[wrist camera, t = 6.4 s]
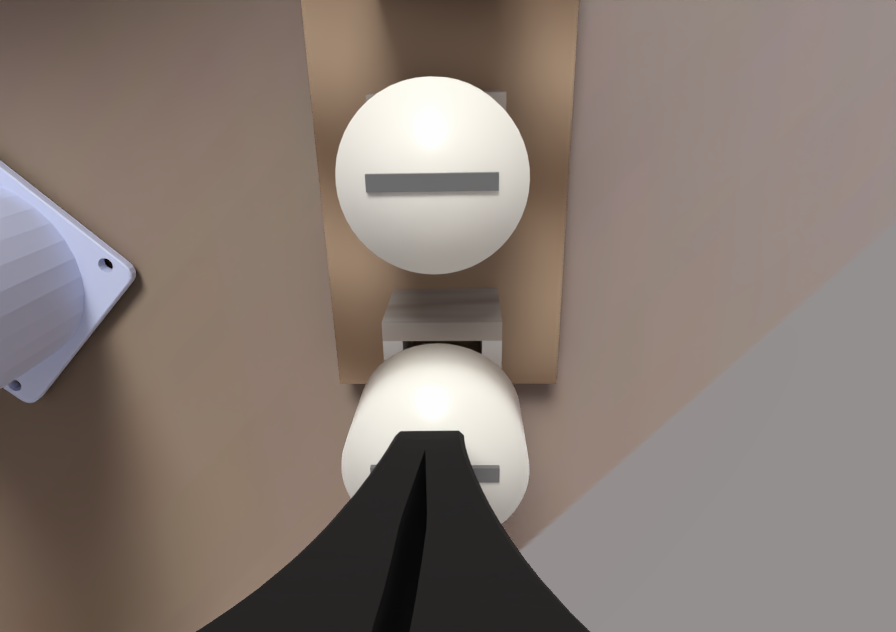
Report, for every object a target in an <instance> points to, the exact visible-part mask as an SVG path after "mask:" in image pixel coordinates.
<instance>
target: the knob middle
mask: <svg viewBox="0 0 896 632" xmlns="http://www.w3.org/2000/svg"><path fill="white" fill-rule="evenodd" d="M335 180H336V189H337V195H338V199H339V202H340V206H341V209H342V211H343V214H344V216H345V218H346V220H347V222H348V224H349V225H350V227H351V229H352V231H353V232H354V233H355V234H356V236H357V237H358V238H359V240H360V241H361V242H362V243H363V244H364V245H365V246H366V247H367V248H368V249H369V250H370V251H372V252H373V253H374V254H375V255H377V256H378V257H380V258H381V259H383V260H384V261H386V262H388V263H390V264H392V265H394V266H396V267H398V268H401V269H404V270H407V271H411V272H416V273H421V274H447V273H452V272H457V271H461V270H464V269H467V268H470V267H472V266H474V265H476V264H478V263H480V262H482V261H483V260H485V259H486V258H488V257H490V256H491V255H492V254H493V253H495V252H496V251H497V250H498V249H499V248H500V247H501V246H502V245H503V244H504V243H505V242H506V241H507V240H508V239H509V237H510V236H511V234H512V233H513V232H514V230H515V229H516V227H517V225H518V223H519V221H520V219H521V217H522V215H523V212H524V209H525V206H526V203H527V198H528V194H529V185H530V167H529V161H528V155H527V151H526V148H525V144H524V141H523V139H522V137H521V135H520V132H519V130H518V128H517V127H516V125H515V123H514V122H513V120H512V119H511V117H510V116H509V115H508V114H507V112H506V111H505V110H504V109H503V108H502V107H501V106H500V105H499V104H498V103H497V102H496V101H495V100H494V99H493V98H492V97H490V96H489V95H488V94H486V93H485V92H484V91H482V90H481V89H479V88H477V87H475V86H474V85H472V84H470V83H467V82H464V81H461V80H458V79H454V78H448V77H433V76H428V77H417V78H412V79H408V80H404V81H401V82H398V83H396V84H393V85H390V86H389V87H387V88H385V89H383V90H382V91H380V92H378V93H377V94H375V95H374V96H373V97H372V98H370V99H369V100H368V101H367V102H366V103H365V104H364V105H363V106H362V107H361V108H360V109H359V110H358V111H357V113H356V114H355V115H354V117H353V118H352V119H351V121H350V123H349V124H348V126H347V128H346V130H345V132H344V134H343V137H342V139H341V142H340V145H339V149H338V153H337V158H336V168H335Z"/></svg>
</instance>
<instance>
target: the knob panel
mask: <svg viewBox="0 0 896 632" xmlns="http://www.w3.org/2000/svg"><path fill="white" fill-rule="evenodd" d="M301 7H302V17H303V26H304V36H305V46H306V56H307V65H308V75H309V85H310V95H311V104H312V114H313V124H314V134H315V143H316V153H317V163H318V173H319V182H320V192H321V202H322V212H323V221H324V231H325V241H326V251H327V260H328V270H329V280H330V290H331V299H332V309H333V319H334V329H335V338H336V348H337V358H338V368H339V377H340V384H366V383H367V381H368V379H369V378H370V376H371V375H372V373H373V372H374V371H375V370H376V369H377V368H378V367H379V365H381V364H382V363H383V362H384V361H385V360H387V359H388V358H390V357H391V356H393V355H395V354H396V353H398V352H401V351H403V350H405V349H408V348H411V347H414V346H418V345H424V344H435V343H448V344H452V345H458V346H462V347H465V348H468V349H471V350H474V351H476V352H478V353H480V354H482V355H484V356H485V357H487V358H489V359H490V360H491V361H493V362H494V363H495V364H496V365H498V366H499V367H500V368H501V369H502V370H503V371H504V372H505V374H506V375H507V376H508V378H509V379H510V380H511V382H512V384H556V379H557V362H558V345H559V328H560V311H561V294H562V277H563V261H564V244H565V227H566V210H567V193H568V176H569V159H570V142H571V125H572V109H573V92H574V75H575V58H576V41H577V24H578V7H579V0H301ZM428 76H433V77H448V78H454V79H458V80H461V81H464V82H467V83H470V84H472V85H474V86H475V87H477V88H479V89H481V90H482V91H484V92H485V93H486V94H488V95H489V96H490V97H492V98H493V99H494V100H495V101H496V102H497V103H498V104H499V105H500V106H501V107H502V108H503V109H504V110H505V111H506V112H507V114H508V115H509V116H510V117H511V119H512V120H513V122H514V123H515V125H516V127H517V128H518V130H519V132H520V135H521V137H522V139H523V141H524V144H525V148H526V151H527V155H528V161H529V167H530V185H529V194H528V198H527V203H526V206H525V209H524V212H523V215H522V217H521V219H520V221H519V223H518V225H517V227H516V229H515V230H514V232H513V233H512V234H511V236H510V237H509V239H508V240H507V241H506V242H505V243H504V244H503V245H502V246H501V247H500V248H499V249H498V250H497V251H496V252H495V253H493V254H492V255H491V256H490V257H488V258H486V259H485V260H483V261H482V262H480V263H478V264H476V265H474V266H472V267H470V268H467V269H464V270H461V271H457V272H452V273H447V274H421V273H416V272H411V271H407V270H404V269H401V268H398V267H396V266H394V265H392V264H390V263H388V262H386V261H384V260H383V259H381V258H380V257H378V256H377V255H375V254H374V253H373V252H372V251H370V250H369V249H368V248H367V247H366V246H365V245H364V244H363V243H362V242H361V241H360V240H359V238H358V237H357V236H356V234H355V233H354V232H353V231H352V229H351V227H350V225H349V224H348V222H347V220H346V218H345V216H344V214H343V211H342V209H341V206H340V202H339V199H338V195H337V189H336V180H335V168H336V158H337V153H338V149H339V145H340V142H341V139H342V137H343V134H344V132H345V130H346V128H347V126H348V124H349V123H350V121H351V119H352V118H353V117H354V115H355V114H356V113H357V111H358V110H359V109H360V108H361V107H362V106H363V105H364V104H365V103H366V102H367V101H368V100H369V99H370V98H372V97H373V96H374V95H375V94H377V93H378V92H380V91H382V90H383V89H385V88H387V87H389V86H390V85H393V84H396V83H398V82H401V81H404V80H408V79H412V78H417V77H428Z"/></svg>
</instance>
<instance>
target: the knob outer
mask: <svg viewBox="0 0 896 632" xmlns="http://www.w3.org/2000/svg"><path fill="white" fill-rule="evenodd" d="M458 430H459V431H460V432H461V433H462V434H463V435H464V441H465V446H466V450H467V454H468V457H469V460H470V462H471V465H472V468H473V470H474V473H475V475H476V477H477V480H478V482H479V484H480V486H481V488H482V490H483V492H484V494H485V496H486V498H487V500H488V502H489V504H490V506H491V508H492V509H493V511H494V513H495V515H496V516H497V518H498V520H499V521H500V523H501V524H502V523H503V522H504V521H506V520H507V519H508V518H509V517H510V516H511V515H512V513H513V512H514V511H515V510H516V508H517V507H518V505H519V504H520V502H521V501H522V498H523V496H524V494H525V492H526V488H527V485H528V480H529V459H528V452H527V446H526V440H525V434H524V427H523V421H522V415H521V408H520V403H519V398H518V395H517V393H516V390H515V388H514V386H513V384H512V382H511V380H510V379H509V378H508V376H507V375H506V374H505V372H504V371H503V370H502V369H501V368H500V367H499V366H498V365H496V364H495V363H494V362H493V361H491V360H490V359H489V358H487V357H485V356H484V355H482V354H480V353H478V352H476V351H474V350H471V349H468V348H465V347H462V346H458V345H452V344H448V343H435V344H424V345H418V346H414V347H411V348H408V349H405V350H403V351H401V352H398V353H396V354H395V355H393V356H391V357H390V358H388V359H387V360H385V361H384V362H383V363H382V364H381V365H379V367H378V368H377V369H376V370H375V371H374V372H373V373H372V375H371V376H370V378H369V379H368V381H367V383H366V385H365V387H364V389H363V392H362V395H361V398H360V401H359V404H358V407H357V410H356V413H355V416H354V419H353V422H352V425H351V428H350V430H349V433H348V436H347V439H346V443H345V446H344V449H343V454H342V475H343V481H344V484H345V487H346V490H347V492H348V494H349V496H350V498H352V497H353V496H354V494H355V493H356V492H357V491H358V489H359V488H360V487H361V485H362V484H363V483H364V481H365V480H366V479H367V477H368V476H369V475H370V473H371V472H372V471H373V469H374V468H375V466H376V465H377V464H378V462H379V461H380V459H381V458H382V456H383V455H384V453H385V452H386V450H387V449H388V447H389V445H390V444H391V442H392V440H393V439H394V437H395V436H396V435H397V434H398V433H399V432H400V431H458Z"/></svg>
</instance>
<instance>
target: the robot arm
mask: <svg viewBox="0 0 896 632" xmlns="http://www.w3.org/2000/svg"><path fill="white" fill-rule="evenodd" d="M105 258H106V259H108V260H110V262H111V263H112V265H113V268H112V269H111V268H109V267H108V266H107V265H106V264H105V261H104V260H105ZM135 277H136V271H135V268H134V266H133V265H132V264H131V263H130V262H129V261H128V260H126V259H125V258H124V257H122V256H121V255H120V254H119V253H117V252H116V251H115V250H114V249H112V248H111V247H110V246H108V245H107V244H106V243H105V242H103V241H102V240H101V239H100V238H98V237H97V236H96V235H94V234H93V233H92V232H91V231H89V230H88V229H87V228H86V227H84V226H83V225H82V224H81V223H79V222H78V221H77V220H75V219H74V218H73V217H72V216H70V215H69V214H68V213H67V212H65V211H64V210H63V209H61V208H60V207H59V206H58V205H56V204H55V203H54V202H53V201H51V200H50V199H49V198H48V197H46V196H45V195H44V194H42V193H41V192H40V191H39V190H37V189H36V188H35V187H34V186H32V185H31V184H30V183H28V182H27V181H26V180H25V179H23V178H22V177H21V176H20V175H18V174H17V173H16V172H14V171H13V170H12V169H11V168H9V167H8V166H7V165H6V164H4V163H3V162H2V161H1V160H0V389H1V388H4V389H5V390H7V391H8V392H10V393H11V394H13V395H14V396H16V397H17V398H19V399H20V400H22V401H24V402H27V403H33V402H36V401H37V400H38V399H40V398H41V397H42V396H43V395H44V394H45V393H46V392H47V390H48V389H49V388H50V386H51V385H52V384H53V383H54V381H55V380H56V379H57V378H58V376H59V375H60V374H61V372H62V371H63V370H64V369H65V367H66V366H67V365H68V364H69V362H70V361H71V360H72V359H73V357H74V356H75V355H76V353H77V352H78V351H79V350H80V348H81V347H82V346H83V345H84V343H85V342H86V341H87V340H88V338H89V337H90V336H91V334H92V333H93V332H94V331H95V329H96V328H97V327H98V326H99V324H100V323H101V322H102V320H103V319H104V318H105V317H106V315H107V314H108V313H109V312H110V310H111V309H112V308H113V307H114V305H115V304H116V303H117V301H118V300H119V299H120V298H121V296H122V295H123V294H124V293H125V291H126V290H127V289H128V288H129V286H130V285H131V284H132V282H133V281H134V279H135ZM16 380H17V381H18V382H19V383H20V384H21V385H19V384H18V383H17V382H16ZM196 632H590V631H589V630H588V629H587V628H586V627H585V626H584V625H583V624H582V623H580V621H579V620H578V619H576V618H575V617H574V616H573V615H572V614H571V613H570V612H569V610H568V609H567V608H566V607H565V606H564V605H563V604H562V603H561V601H560V600H559V599H558V598H557V597H556V596H555V595H554V594H553V593H552V591H551V590H550V589H549V588H548V587H547V586H546V585H545V584H544V583H543V582H542V580H541V579H540V578H539V577H538V575H537V574H536V573H535V572H534V571H533V569H532V568H531V566H530V565H529V564H528V563H527V561H526V560H525V559H524V557H523V556H522V555H521V553H520V552H519V550H518V549H517V548H516V546H515V545H514V543H513V542H512V540H511V539H510V537H509V536H508V534H507V533H506V531H505V530H504V528H503V526H502V525H501V523H500V521H499V520H498V518H497V516H496V515H495V513H494V511H493V509H492V508H491V506H490V504H489V502H488V500H487V498H486V496H485V494H484V492H483V490H482V488H481V486H480V484H479V482H478V480H477V477H476V475H475V473H474V470H473V468H472V465H471V462H470V460H469V457H468V454H467V450H466V446H465V441H464V435H463V434H462V433H461V432H460V431H459V430H458V431H400V432H399V433H398V434H397V435H396V436H395V437H394V439H393V440H392V442H391V444H390V445H389V447H388V449H387V450H386V452H385V453H384V455H383V456H382V458H381V459H380V461H379V462H378V464H377V465H376V466H375V468H374V469H373V471H372V472H371V473H370V475H369V476H368V477H367V479H366V480H365V481H364V483H363V484H362V485H361V487H360V488H359V489H358V491H357V492H356V493H355V494H354V496H353V497H352V498H351V499H350V500H349V502H348V503H347V504H346V505H345V506H344V507H343V509H342V510H341V511H340V512H339V513H338V514H337V516H336V517H335V518H334V519H333V520H332V521H331V522H330V523H329V525H328V526H327V527H326V528H325V529H324V530H323V531H322V532H321V533H320V534H319V535H318V536H317V537H316V538H315V539H314V540H313V541H312V542H311V543H310V544H309V545H308V546H307V547H306V548H305V549H304V550H303V551H302V552H301V553H300V554H299V555H298V556H296V557H295V558H294V559H293V560H292V561H291V562H290V563H288V564H287V565H286V566H285V567H284V568H283V569H282V570H280V571H279V572H278V573H277V574H276V575H274V576H273V577H272V578H271V579H270V580H268V581H267V582H266V583H265V584H263V585H262V586H261V587H260V588H259V589H257V590H256V591H255V592H253V593H252V594H251V595H249V596H248V597H246V598H245V599H244V600H242V601H241V602H240V603H238V604H237V605H235V606H234V607H233V608H231V609H230V610H228V611H227V612H225V613H224V614H222V615H221V616H219V617H218V618H216V619H215V620H213V621H212V622H210V623H209V624H207V625H206V626H204V627H203V628H201V629H200V630H198V631H196Z"/></svg>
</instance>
